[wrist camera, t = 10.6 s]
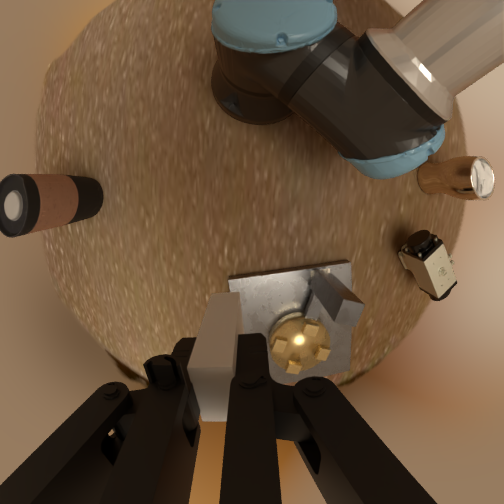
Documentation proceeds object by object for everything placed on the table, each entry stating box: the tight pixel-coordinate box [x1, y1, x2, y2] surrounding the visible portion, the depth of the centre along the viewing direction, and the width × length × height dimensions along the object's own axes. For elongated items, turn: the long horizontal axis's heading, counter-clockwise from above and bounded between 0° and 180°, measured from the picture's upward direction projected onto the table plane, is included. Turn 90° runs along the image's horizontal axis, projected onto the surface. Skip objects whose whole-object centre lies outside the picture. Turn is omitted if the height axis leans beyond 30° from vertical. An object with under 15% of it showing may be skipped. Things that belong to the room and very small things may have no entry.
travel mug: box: [0, 174, 103, 237], centre depth 32 cm, size 8×8×20 cm
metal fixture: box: [269, 269, 365, 374], centre depth 38 cm, size 18×10×13 cm, turn 163°
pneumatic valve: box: [398, 230, 457, 301], centre depth 40 cm, size 6×12×12 cm, turn 37°
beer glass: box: [417, 156, 495, 200], centre depth 36 cm, size 7×7×15 cm
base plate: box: [228, 260, 352, 384], centre depth 47 cm, size 22×20×2 cm
